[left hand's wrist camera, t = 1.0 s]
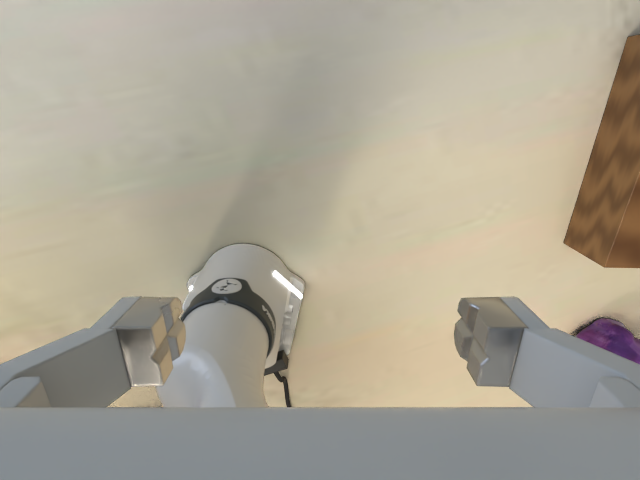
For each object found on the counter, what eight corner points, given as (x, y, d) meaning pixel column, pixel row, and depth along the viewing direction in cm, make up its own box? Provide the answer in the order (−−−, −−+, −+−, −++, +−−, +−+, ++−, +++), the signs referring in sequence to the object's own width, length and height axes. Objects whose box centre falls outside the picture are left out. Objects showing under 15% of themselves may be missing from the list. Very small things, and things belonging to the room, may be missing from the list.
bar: (595, 243, 53) (641, 268, 46) (563, 243, 53) (604, 267, 46) (667, 37, 43) (743, 24, 35) (627, 36, 43) (694, 23, 35)
